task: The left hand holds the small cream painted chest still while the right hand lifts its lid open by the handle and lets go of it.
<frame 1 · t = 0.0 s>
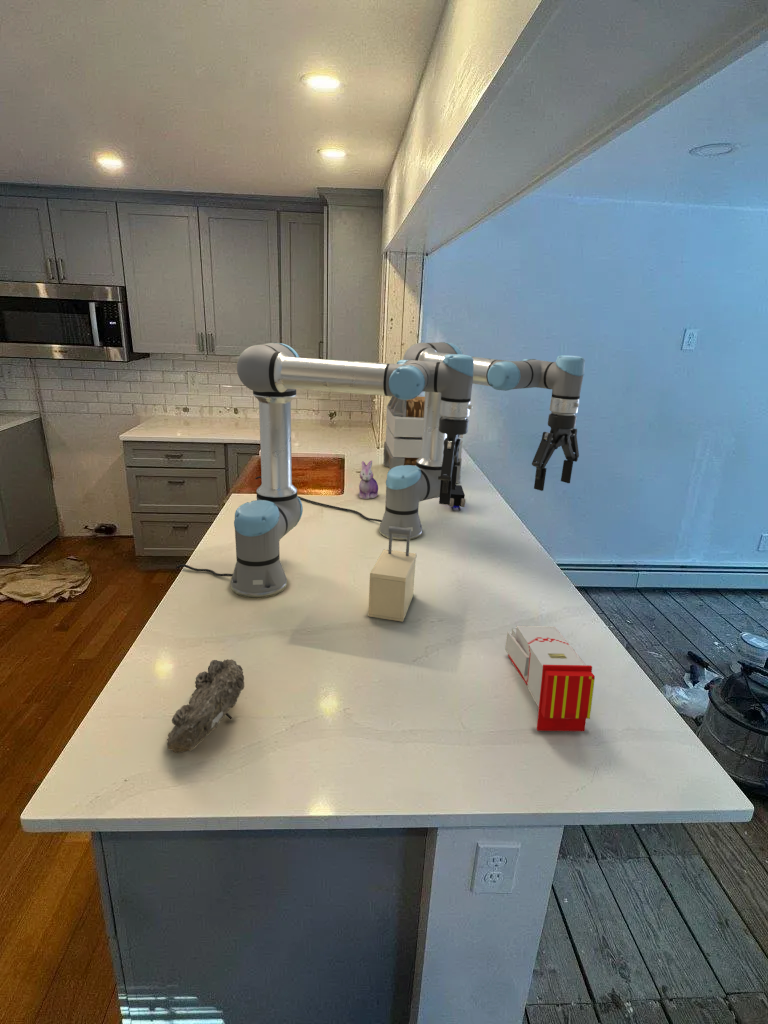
left hand: (447, 496, 152), 28 cm above the counter, tool pointing down, fingers open, 13 cm apart
right hand: (552, 485, 166), 28 cm above the counter, tool pointing down, fingers open, 13 cm apart
toy: (539, 687, 121), on the counter
chest: (391, 605, 151), on the counter
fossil: (212, 717, 108), on the counter
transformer: (419, 473, 275), on the counter
figurine: (368, 496, 238), on the counter
lid: (394, 551, 147), point 16 cm above the counter, hinge at 0.0°
figurine character: (454, 506, 230), on the counter
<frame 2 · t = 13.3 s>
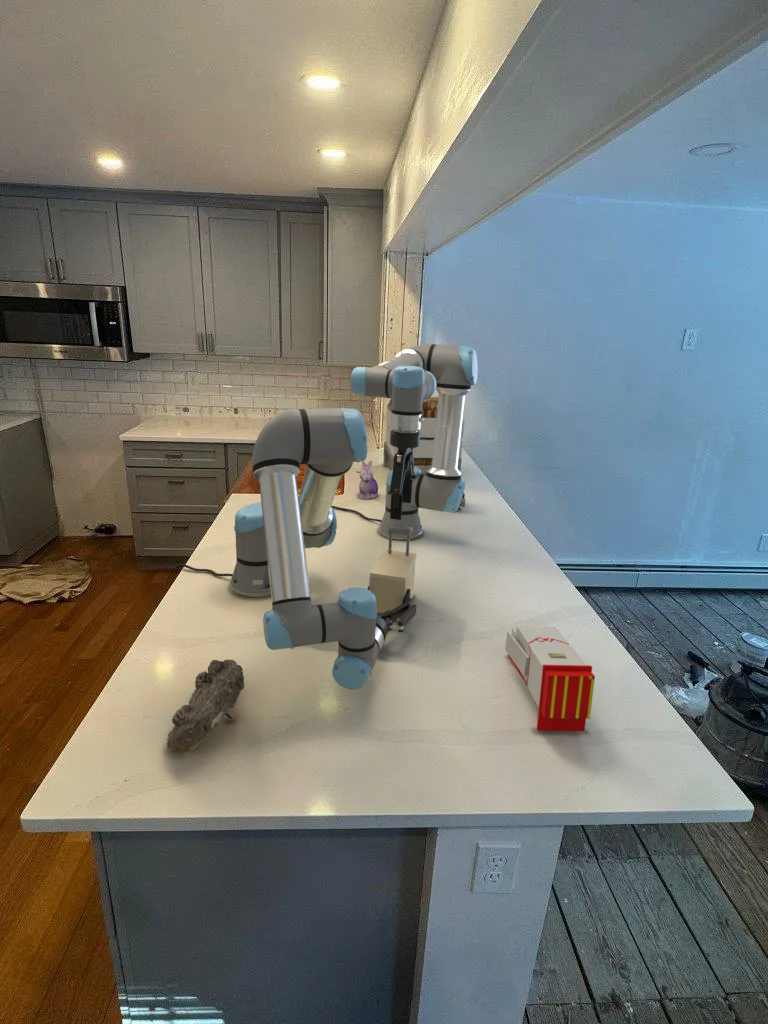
left hand: (389, 590, 146), 6 cm above the counter, tool horizontal, fingers closed on chest, 9 cm apart
right hand: (401, 510, 148), 25 cm above the counter, tool pointing down, fingers open, 13 cm apart
chest: (391, 605, 151), on the counter, touching left hand
everything else where it was.
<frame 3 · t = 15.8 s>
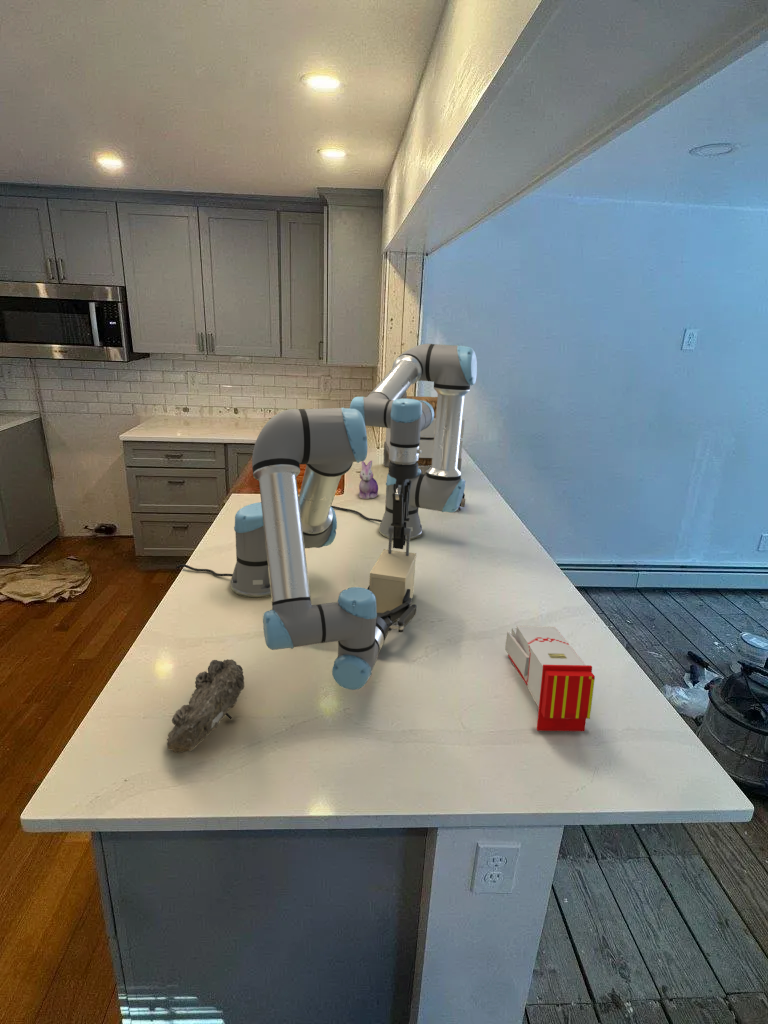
left hand: (389, 591, 146), 6 cm above the counter, tool horizontal, fingers closed on chest, 9 cm apart
right hand: (399, 546, 152), 15 cm above the counter, tool pointing down, fingers closed on lid, 2 cm apart
chest: (391, 605, 151), on the counter, touching left hand
lid: (394, 551, 147), point 16 cm above the counter, hinge at 0.2°, touching right hand
everything else where it was.
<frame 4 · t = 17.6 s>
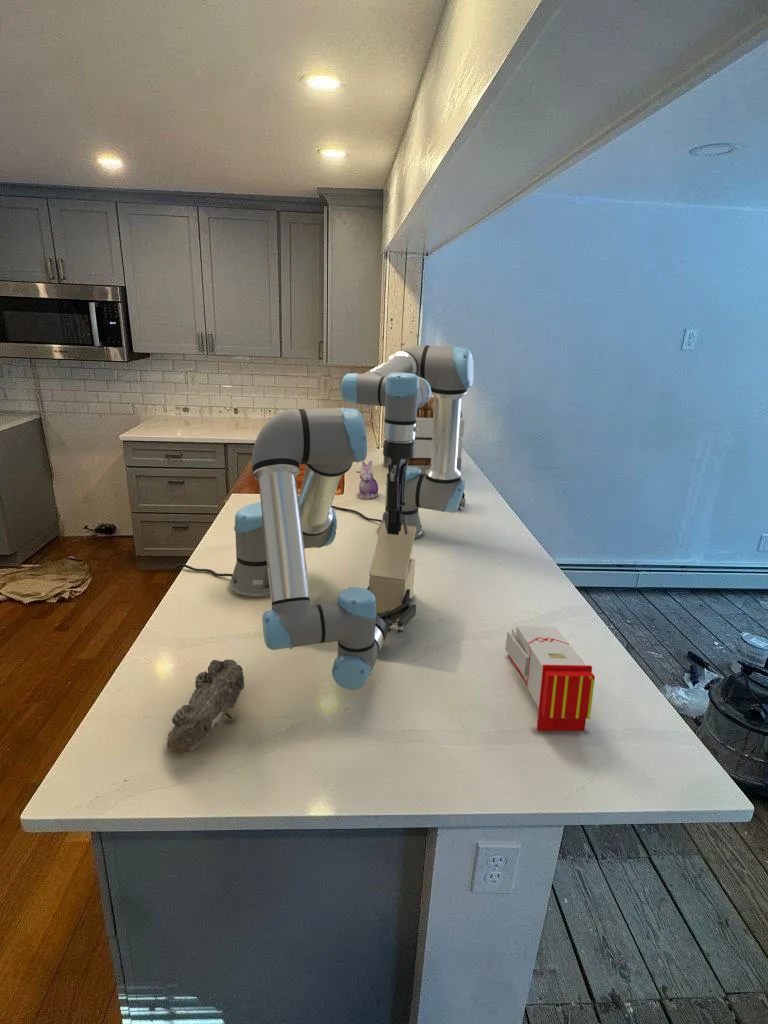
left hand: (389, 591, 146), 6 cm above the counter, tool horizontal, fingers closed on chest, 9 cm apart
right hand: (394, 531, 143), 22 cm above the counter, tool pointing down, fingers closed on lid, 2 cm apart
chest: (391, 605, 151), on the counter, touching left hand
lid: (391, 543, 141), point 20 cm above the counter, hinge at 36.3°, touching right hand
everything else where it was.
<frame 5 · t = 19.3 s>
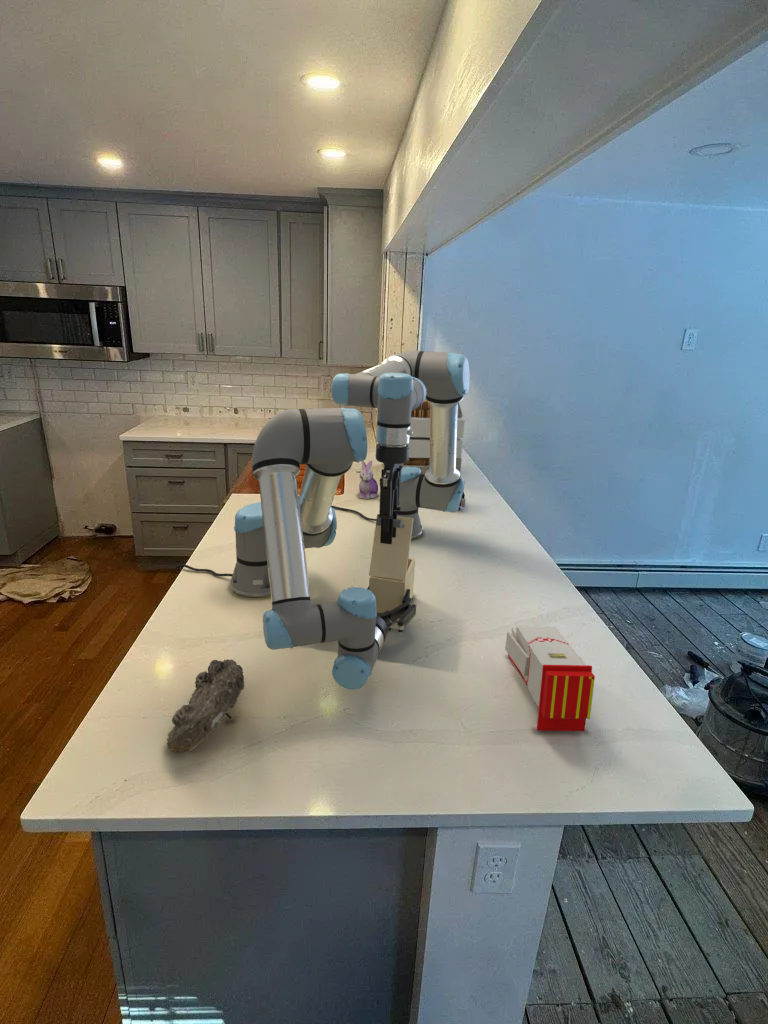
left hand: (389, 591, 146), 6 cm above the counter, tool horizontal, fingers closed on chest, 9 cm apart
right hand: (388, 539, 136), 23 cm above the counter, tool pointing down, fingers open, 4 cm apart
chest: (391, 605, 151), on the counter, touching left hand
lid: (388, 546, 137), point 20 cm above the counter, hinge at 64.1°
everything else where it was.
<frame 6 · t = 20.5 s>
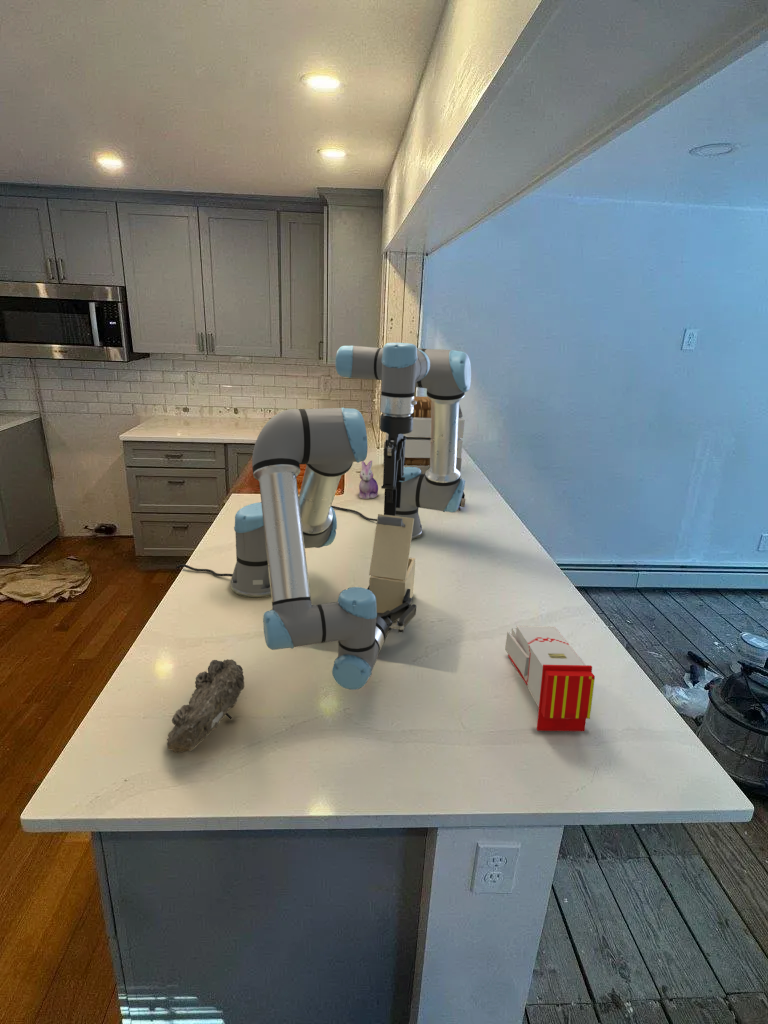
left hand: (389, 590, 146), 6 cm above the counter, tool horizontal, fingers closed on chest, 9 cm apart
right hand: (392, 510, 136), 29 cm above the counter, tool pointing down, fingers open, 5 cm apart
chest: (391, 605, 152), on the counter, touching left hand
lid: (389, 545, 138), point 21 cm above the counter, hinge at 61.3°
everything else where it was.
when the left hand's fingers open (6 cm above the counter, at t = 23.0 s): chest stays where it is, on the counter.
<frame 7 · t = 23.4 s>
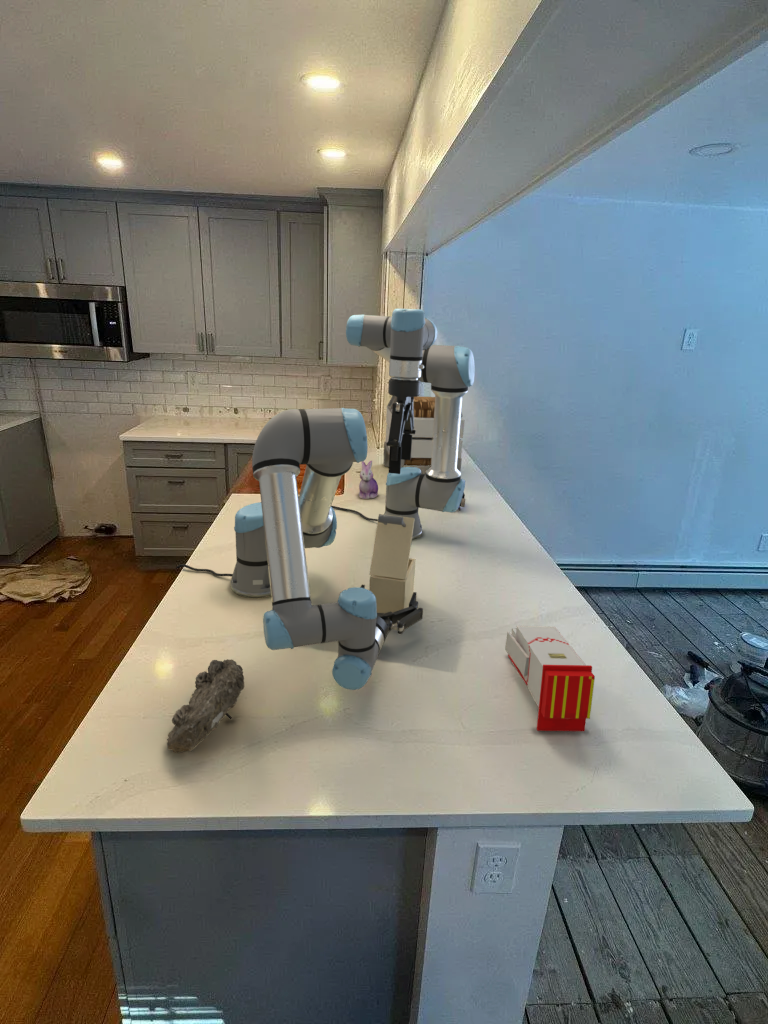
left hand: (388, 593, 145), 6 cm above the counter, tool horizontal, fingers open, 13 cm apart
right hand: (400, 466, 140), 38 cm above the counter, tool pointing down, fingers open, 13 cm apart
chest: (391, 605, 152), on the counter
lid: (389, 544, 138), point 21 cm above the counter, hinge at 59.9°
everything else where it was.
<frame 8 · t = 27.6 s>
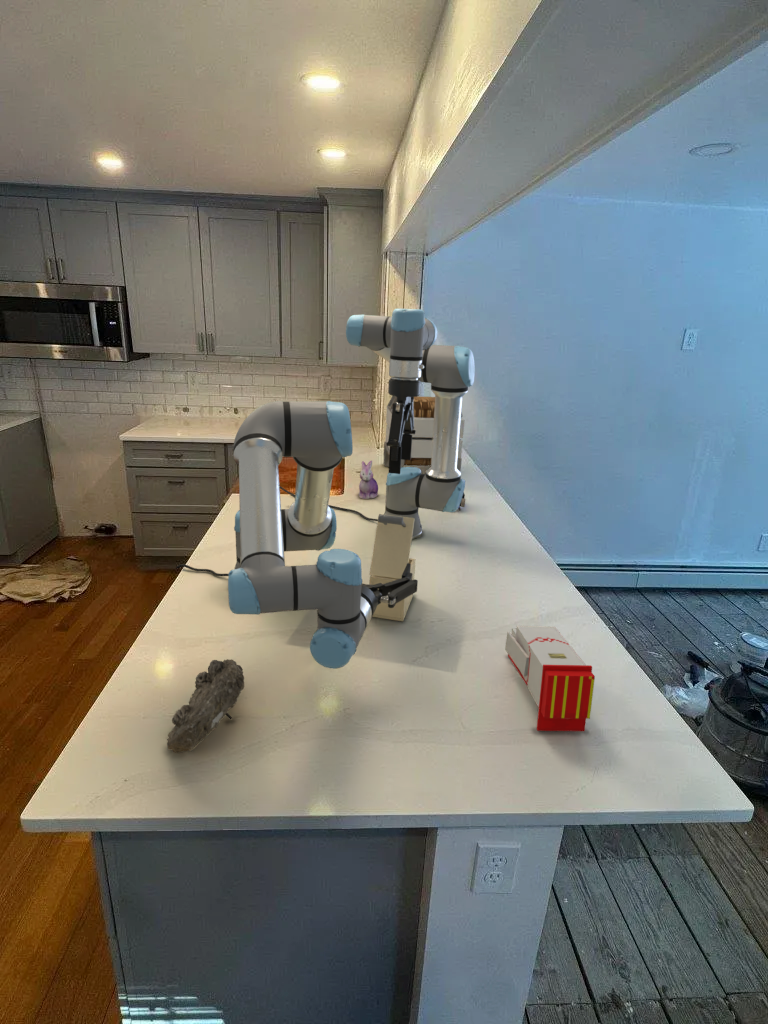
left hand: (379, 564, 129), 20 cm above the counter, tool horizontal, fingers open, 13 cm apart
right hand: (400, 466, 140), 38 cm above the counter, tool pointing down, fingers open, 13 cm apart
nothing on the counter moved.
at the end: lid at +60° (first picture: +0°); the left hand is holding nothing; the right hand is holding nothing; chest tilted 0°; chest never tilted more than 2° during the clip; chest moved 0.1 cm from its start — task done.
